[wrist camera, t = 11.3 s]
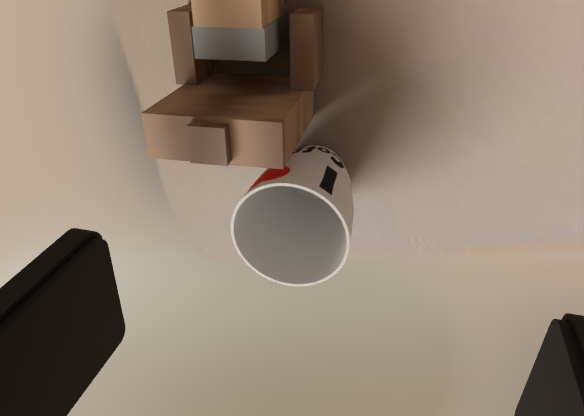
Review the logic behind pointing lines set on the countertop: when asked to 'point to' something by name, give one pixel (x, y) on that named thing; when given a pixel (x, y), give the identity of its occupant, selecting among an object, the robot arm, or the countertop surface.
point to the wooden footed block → (236, 102)
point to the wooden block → (238, 29)
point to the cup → (297, 219)
